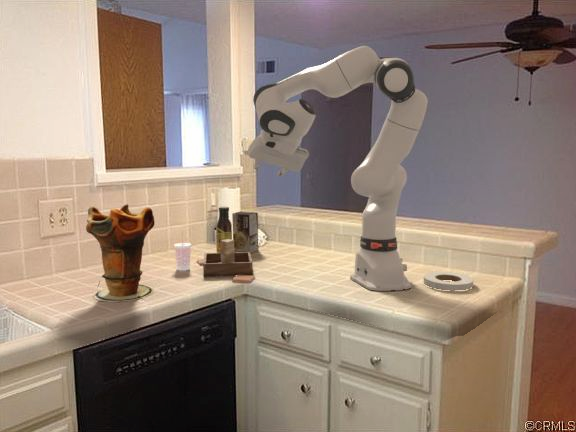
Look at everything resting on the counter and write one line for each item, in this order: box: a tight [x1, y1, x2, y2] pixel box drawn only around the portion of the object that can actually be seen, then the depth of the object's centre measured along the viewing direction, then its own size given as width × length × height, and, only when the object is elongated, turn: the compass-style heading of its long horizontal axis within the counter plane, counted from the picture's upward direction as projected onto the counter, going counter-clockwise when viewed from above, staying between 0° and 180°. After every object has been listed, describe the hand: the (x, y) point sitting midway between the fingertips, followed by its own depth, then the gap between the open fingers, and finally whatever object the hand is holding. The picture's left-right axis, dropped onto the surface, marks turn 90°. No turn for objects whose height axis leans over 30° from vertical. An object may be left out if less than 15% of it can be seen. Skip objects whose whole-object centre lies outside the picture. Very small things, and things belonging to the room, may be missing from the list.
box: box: [202, 251, 254, 278], centre depth 186 cm, size 17×17×4 cm
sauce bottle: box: [215, 206, 233, 253], centre depth 207 cm, size 6×6×20 cm
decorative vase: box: [85, 203, 155, 303], centre depth 157 cm, size 21×23×28 cm
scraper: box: [219, 239, 235, 263], centre depth 186 cm, size 9×6×10 cm
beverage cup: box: [173, 230, 192, 271], centre depth 187 cm, size 6×6×14 cm
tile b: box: [231, 275, 256, 284], centre depth 173 cm, size 6×6×1 cm
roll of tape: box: [423, 271, 474, 291], centre depth 167 cm, size 16×15×3 cm
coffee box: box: [231, 211, 259, 254], centre depth 218 cm, size 9×6×16 cm
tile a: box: [196, 258, 204, 266], centre depth 197 cm, size 6×6×1 cm
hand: (267, 171), depth 183 cm, fingers open, 8 cm apart
